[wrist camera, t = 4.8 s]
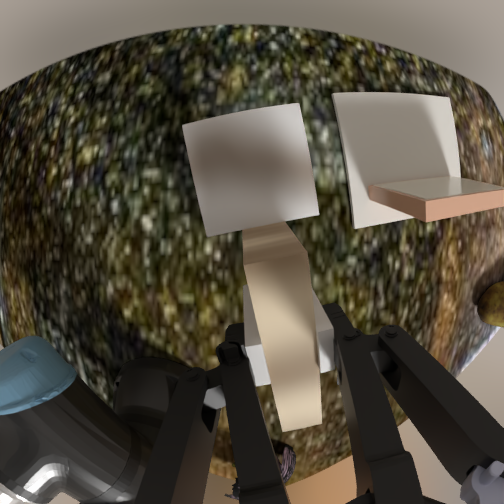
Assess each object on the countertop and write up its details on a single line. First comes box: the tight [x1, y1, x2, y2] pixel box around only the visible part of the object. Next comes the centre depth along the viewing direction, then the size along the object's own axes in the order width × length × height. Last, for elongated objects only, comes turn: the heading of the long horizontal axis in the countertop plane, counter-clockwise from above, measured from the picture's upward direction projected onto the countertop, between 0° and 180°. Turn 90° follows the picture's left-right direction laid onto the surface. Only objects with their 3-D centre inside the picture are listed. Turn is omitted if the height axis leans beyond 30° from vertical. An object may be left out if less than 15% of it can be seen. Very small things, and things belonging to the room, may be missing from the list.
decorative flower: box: [225, 444, 296, 500], centre depth 37 cm, size 15×12×15 cm
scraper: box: [182, 103, 322, 432], centre depth 15 cm, size 19×7×6 cm, turn 11°
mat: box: [331, 92, 461, 229], centre depth 24 cm, size 16×14×1 cm
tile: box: [368, 176, 504, 222], centre depth 20 cm, size 12×2×10 cm, turn 101°
